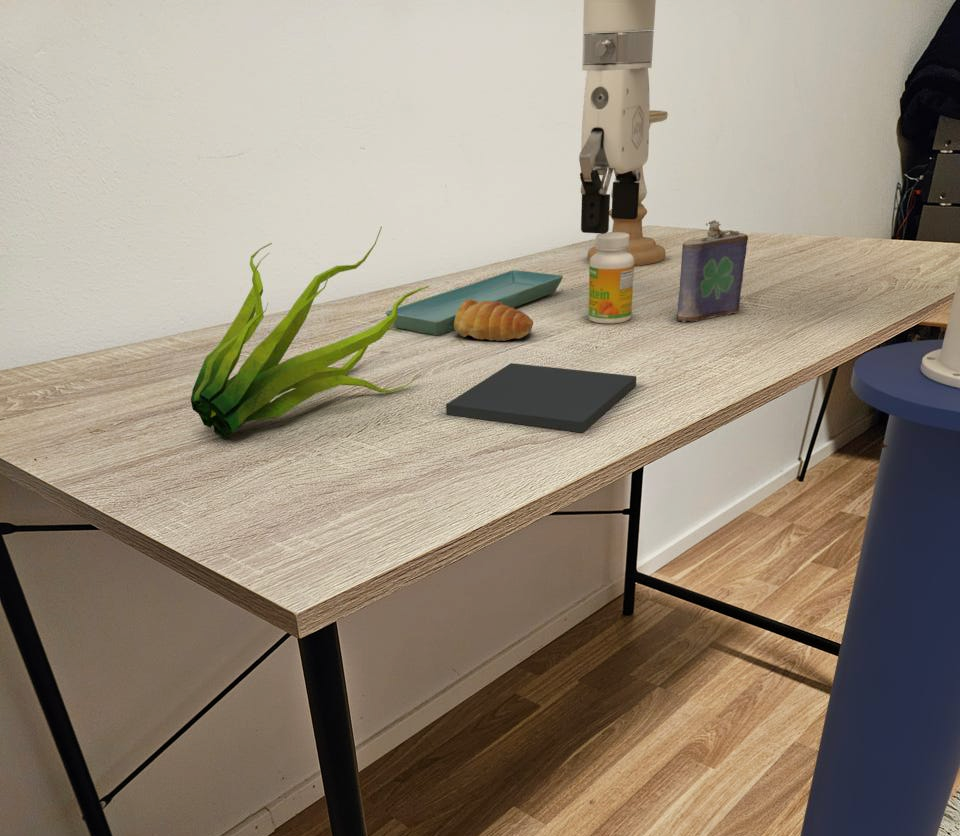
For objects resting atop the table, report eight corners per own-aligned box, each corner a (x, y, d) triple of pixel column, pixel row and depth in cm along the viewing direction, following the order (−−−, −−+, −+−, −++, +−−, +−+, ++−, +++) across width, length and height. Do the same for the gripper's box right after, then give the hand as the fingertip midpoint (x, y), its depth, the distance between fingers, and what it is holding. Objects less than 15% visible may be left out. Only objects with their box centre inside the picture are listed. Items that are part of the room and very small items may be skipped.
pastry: (543, 331, 108) (542, 298, 106) (517, 346, 103) (516, 312, 101) (476, 325, 112) (474, 293, 110) (448, 339, 107) (446, 306, 105)
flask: (684, 323, 108) (692, 227, 102) (669, 318, 110) (676, 224, 104) (744, 312, 111) (754, 218, 105) (728, 307, 113) (738, 215, 108)
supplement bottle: (579, 320, 112) (580, 236, 106) (607, 311, 115) (609, 229, 109) (612, 326, 108) (615, 240, 103) (640, 317, 111) (644, 233, 106)
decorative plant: (489, 382, 93) (483, 229, 84) (217, 453, 79) (179, 278, 71) (402, 348, 105) (390, 211, 97) (154, 403, 92) (116, 250, 84)
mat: (636, 385, 89) (636, 376, 89) (582, 433, 79) (583, 422, 78) (511, 372, 95) (510, 362, 94) (446, 414, 85) (445, 404, 84)
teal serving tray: (438, 338, 108) (436, 317, 106) (384, 329, 113) (382, 308, 111) (564, 294, 124) (564, 275, 122) (513, 287, 129) (513, 269, 128)
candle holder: (638, 248, 149) (644, 108, 138) (680, 260, 139) (691, 110, 128) (573, 257, 145) (574, 114, 134) (612, 270, 135) (617, 117, 124)
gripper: (622, 54, 88) (613, 240, 98) (675, 50, 101) (663, 215, 111) (553, 57, 92) (551, 237, 101) (613, 52, 104) (606, 212, 114)
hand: (609, 225), depth 106 cm, fingers open, 9 cm apart
